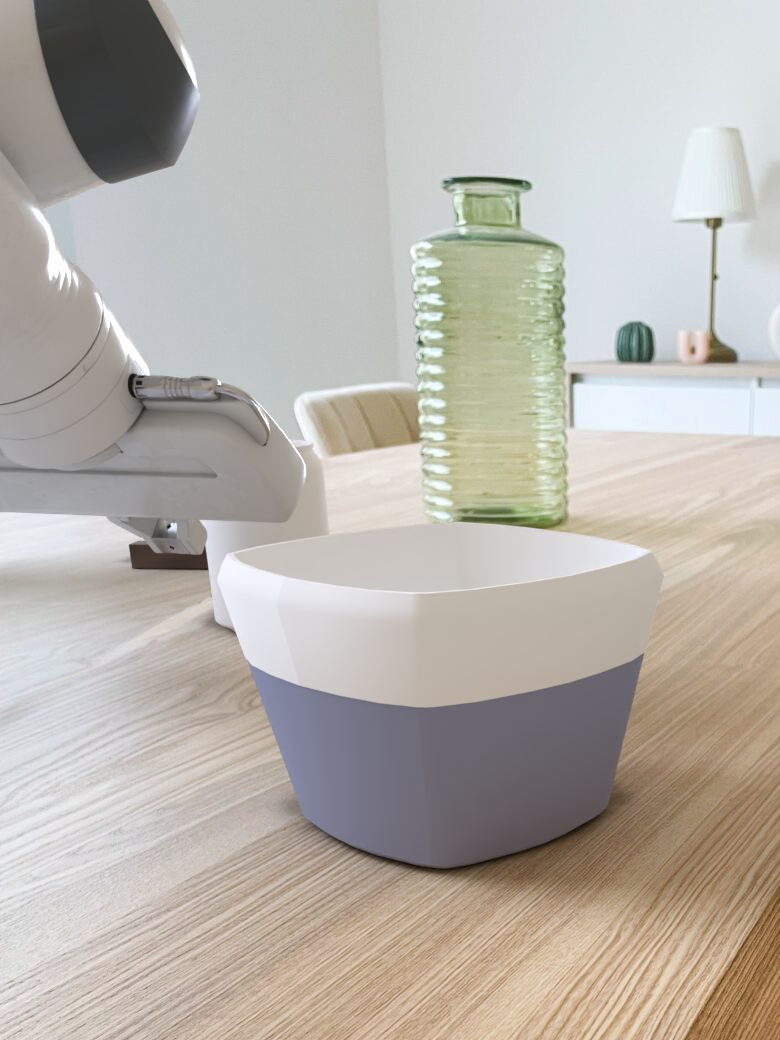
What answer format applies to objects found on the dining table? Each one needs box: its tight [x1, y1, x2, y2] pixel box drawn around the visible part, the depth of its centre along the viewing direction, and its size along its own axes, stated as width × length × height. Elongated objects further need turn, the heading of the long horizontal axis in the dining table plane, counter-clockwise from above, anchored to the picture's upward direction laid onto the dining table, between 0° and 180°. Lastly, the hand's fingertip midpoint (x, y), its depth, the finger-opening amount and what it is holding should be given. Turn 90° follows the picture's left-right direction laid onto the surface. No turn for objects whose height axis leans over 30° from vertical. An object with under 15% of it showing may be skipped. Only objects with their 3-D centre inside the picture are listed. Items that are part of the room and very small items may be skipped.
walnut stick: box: [128, 540, 209, 570], centre depth 110 cm, size 12×2×2 cm, turn 88°
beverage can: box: [201, 438, 330, 633], centre depth 87 cm, size 8×8×12 cm
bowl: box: [217, 521, 665, 869], centre depth 54 cm, size 15×15×11 cm
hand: (183, 544), depth 78 cm, fingers closed
